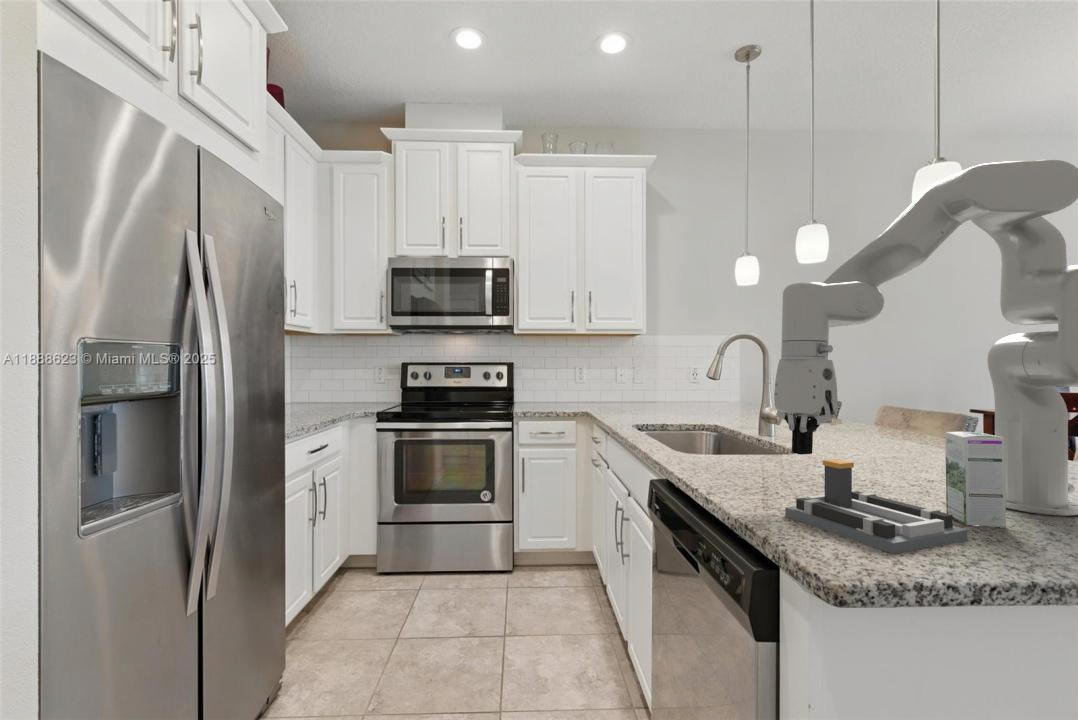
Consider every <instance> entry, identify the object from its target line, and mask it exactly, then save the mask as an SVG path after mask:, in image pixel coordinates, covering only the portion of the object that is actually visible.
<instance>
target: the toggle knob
mask: <svg viewBox="0 0 1078 720" xmlns="http://www.w3.org/2000/svg"><path fill="white" fill-rule="evenodd" d="M822 465H823V466H824V495H825V502H826V503H829V504H832V505H836V506H839V507H843V508H846V509H848V508H852V492H853V485H852V484H853V483H852V482H853V481H852V480H853V479H852V478H853V477H852V476H853V471H852V470H853V468H855V463H854V462H853V461H848V460H842V459H837V458H835V459H834V458H832V459H822Z"/></svg>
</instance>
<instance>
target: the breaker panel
mask: <svg viewBox="0 0 1078 720" xmlns="http://www.w3.org/2000/svg"><path fill="white" fill-rule="evenodd" d="M806 498H807V499H810V500H813V499H817V500H821V501H822V503H824V504H827V505H831V506H834V507H838V508H841V509H844V510H848V511H851V512H855V513H858V514H861V515H865V516H868V517H875V516H876V517H879V518H883V519H884V521H885V522H889V523H892V524H895V537H894V538H888V539H885V538H882V537H879V536H876V535H874V533H872V535H870V534H867V533H864V532H863V530H862V529H859V528H856V529H855V528H852V527H849V526H846V525H842V524H839V523H836V522H833V521H830V520H827V519H824V518H821V517H818V516H815V515H809V514H806V513H804V511H803V510H800V509H797V508H796V505H794V506H787V507H785V508H784V509H785V511H784V513H785V514H784V515H785V517H787V518H788V519H791V520H795V521H798V522H800V523H802V524H806V525H809V526H811V527H814V528H818V529H820V530H822V531H825V532H828V531H829V533H831V534H834V533H835V535H837V536H839V537H840V536H841V537H843V538H845V539H848V538H849V540H851V539H852V541H855V542H857V541H858V543H859V544H863V545H865V546H869V547H871V546H872V547H871V548H874V547H875V548H874V549H877V548H878V549H877V550H880V551H884V552H886V553H889V554H891V555H896V554H901V553H907V552H911V551H912V552H913V551H917V550H922V549H928V548H933V547H937V546H938V547H939V546H943V545H947V544H953V543H954V544H955V543H959V542H964V541H963V540H965V541H968V540H969V537H968V534H969V532H968V531H969V530H968V529H966V528H963V527H960V526H956V525H953V527H951V528H944V521H943V520H940V519H932V520H929V519H926V518H922V517H918V516H914V515H911V514H907V513H903V512H900V511H896V510H892V509H888V508H885V507H881V506H877V505H873V504H870V503H866V502H862V501H859V500H855V499H852V508H848V509H846V508H843V507H839V506H836V505H832V504H829V503H826V502H825V494H818V495H810V496H809V495H808V496H806ZM967 539H968V540H967Z"/></svg>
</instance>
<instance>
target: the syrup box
mask: <svg viewBox="0 0 1078 720" xmlns="http://www.w3.org/2000/svg"><path fill="white" fill-rule="evenodd" d="M944 435H945V436H944V441H945V442H944V443H945V450H944V451H945V454H944V455H945V456H944V457H945V500H946V501H945V504H946V505H945V506H946V507H945V509H946V512H945V513H946V514H950V515H953V518H954V519H953V520H954V521H955V520H956V521H958V522H959V521H960V522H959V523H962V524H964V525H965V524H966V525H965V526H968V525H979V526H991V527H990V528H995V527H1000V528H1001V529H1002V528H1003V529H1006V528H1007V515H1006V513H1007V511H1006V510H1007V508H1006V500H1005V452H1004V437H1000V436H995V434H994V435H993V434H989V433H983V432H977V431H964V430H963V431H945V433H944Z"/></svg>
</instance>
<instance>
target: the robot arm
mask: <svg viewBox="0 0 1078 720" xmlns="http://www.w3.org/2000/svg"><path fill="white" fill-rule="evenodd" d="M1076 201H1078V167H1076V166H1075V165H1074V164H1072V163H1071V162H1067V161H1065V160H1059V159H1037V160H1017V161H1015V160H1013V161H1001V162H1000V161H999V162H989V163H982V164H978V165H975V166H971V167H969V168H966V169H964V170H962V171H960V172H957V173H955V174H953V175H950V176H948V177H946V178H944V179H941V180H939V181H937V182H935V183H933V184H932V185H930V186H929V187H927V188H926V189H925V190H924V191H922V193H920V195H918V197H917V198H916V199H914V200H913V202H912V203H911V204H910V205H909V206H908V207H907V208H906V209H905V210H904V211H903V212H902V213H901V214H900V215H899V216H898V217H897V218H896V219H895V220H894V221H893V222H892V223H891V224H890V226H888V227H887V228H886V229H885V230H884V231H883V232H882V233H881V234H880V235H879V236H878V237H877V238H875V239H874V240H872V241H871V242H870V243H869V244H867V245H865V247H863V248H862V249H861V250H860V251H858V252H857V253H856V254H854V255H853V256H852V257H851V258H849V259H848V260H847V261H845V262H844V263H842V265H840V266H839V267H838V268H837V269H835V270H834V272H832V273H831V274H830V275H829V276H828V277H827V278H826V279H825V280H824V281H823V282H815V281H812V282H796V283H792V284H789V285H787V286H786V287H785V288H784V289H783V292H782V308H781V310H782V312H781V313H782V315H781V317H782V318H781V349H780V351H781V352H780V353H781V356H780V357H781V358H780V359H778V363H777V369H776V375H775V379H774V392H773V393H774V395H773V402H774V403H773V405H774V408H775V409H776V416H777V418H779V419H781V420H785V422H786V424H787V425H788V429H789V431H792V432H791V434H792V435H791V453H792V454H796V455H802V456H803V455H812V454H813V448H814V447H813V445H814V443H813V441H814V440H813V439H814V433H816V432H817V431H818V428H819V427H820V426H821V425H825V424H826V425H828V424H832V422H833V420H832V416H834V415H836V414H837V412H838V404H839V403H838V384H837V376H836V375H837V374H836V369H835V364H834V362H833V360H832V359H829V354H831V353H832V352H833V349H834V347H833V345H831V344H829V342H830V341H829V337H830V335H829V332H830V328H836V327H841V326H842V327H843V326H854V325H861V324H864V323H868V322H870V321H872V320H874V319H875V318H877V317H878V316H879V315H880V313H882V311H883V308H884V306H885V298H884V297H885V296H884V295H883V293H882V292H881V290H880V289H879V288H878V287H879V286H881V285H883V284H885V283H887V282H889V281H891V280H893V279H896V278H898V277H901V276H903V275H904V274H907V273H908V272H910V271H912V270H914V269H916V268H917V267H919V266H920V265H922V264H923V263H925V261H927V259H928V258H929V257H930V256H932V254H933V253H934V252H935V251H936V250H937V249H938V248H939V247H940V246H941V245H942V244H943V243H944V242H945V241H946V240H947V239H948V238H949V237H950V236H951V235H952V234H953V233H954V232H955V231H956V230H957V229H958V228H959V227H960V226H961V225H963V224H964V223H965V222H968V221H971V222H972V223H973V225H975V226H977V227H978V228H980V229H981V230H982V231H983V232H985V233H986V234H987V235H989V236H990V237H991V238H992V239H993V240H994V241H995V243H996V244H997V246H998V248H999V251H1000V256H1001V259H1000V260H1001V271H1000V272H1001V273H1000V274H1001V277H1000V297H999V299H1000V300H999V302H1000V305H999V306H1000V311H1001V315H1002V317H1003V318H1004V319H1005V320H1006V321H1007V322H1009V323H1010V324H1011V323H1012V324H1014V325H1021V326H1035V325H1036V326H1039V325H1052V324H1057V326H1058V327H1057V328H1058V330H1056V331H1055V330H1054V331H1053V330H1052V331H1035V332H1034V331H1032V332H1020V333H1014V334H1010V335H1006V336H1005V337H1002V338H1000V339H999V340H997V341H996V342H995V343H993V345H991V347H990V348H989V351H988V353H987V359H986V360H987V367H988V371H989V374H990V375H989V376H990V379H991V384H992V389H993V395H994V436H1000V437H1004V452H1005V500H1006V509H1008V510H1009V509H1010V510H1013V511H1019V512H1025V513H1031V514H1039V515H1047V516H1061V517H1062V516H1063V517H1064V516H1065V517H1068V516H1069V517H1070V516H1073V517H1074V516H1078V504H1077V503H1075V502H1073V501H1069V494H1072V493H1074V491H1075V486H1074V484H1072V483H1070V482H1069V427H1068V426H1069V413H1068V411H1069V410H1068V408H1067V404H1066V402H1065V400H1064V397H1062V395H1061V393H1060V391H1059V390H1058V389H1057V387H1069V388H1070V387H1074V388H1076V387H1077V388H1078V264H1075V265H1074V264H1073V265H1069V266H1068V265H1067V264H1068V262H1067V261H1068V260H1067V243H1066V240H1065V238H1064V235H1063V234H1062V233H1061V231H1060V230H1059V229H1058V228H1057V227H1056V226H1055V225H1054V224H1052V223H1051V222H1050V221H1048V219H1046V218H1044V217H1043V216H1047V215H1049V214H1054V213H1057V212H1060V211H1062V210H1065V209H1066V208H1068V207H1070V206H1072V204H1074V203H1075V202H1076Z"/></svg>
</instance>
